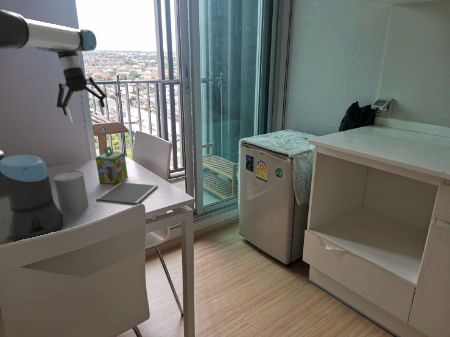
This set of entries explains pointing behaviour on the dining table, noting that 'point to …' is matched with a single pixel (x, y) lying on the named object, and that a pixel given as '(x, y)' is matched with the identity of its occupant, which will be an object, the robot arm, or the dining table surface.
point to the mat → (127, 193)
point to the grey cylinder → (71, 191)
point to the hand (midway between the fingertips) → (87, 119)
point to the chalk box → (111, 167)
